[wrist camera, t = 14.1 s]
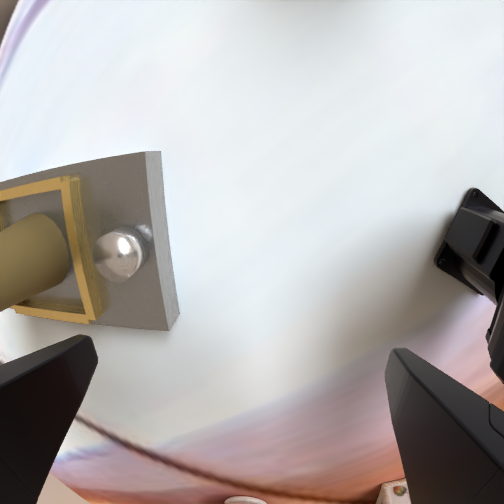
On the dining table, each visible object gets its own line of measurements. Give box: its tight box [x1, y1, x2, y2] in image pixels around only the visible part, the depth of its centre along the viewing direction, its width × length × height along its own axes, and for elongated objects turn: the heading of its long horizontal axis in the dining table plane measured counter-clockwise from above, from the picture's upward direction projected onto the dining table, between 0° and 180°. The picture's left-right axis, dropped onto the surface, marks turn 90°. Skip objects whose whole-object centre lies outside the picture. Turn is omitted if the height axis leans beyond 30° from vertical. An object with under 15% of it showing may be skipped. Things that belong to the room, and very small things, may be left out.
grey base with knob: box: [0, 151, 180, 331], centre depth 20 cm, size 16×12×4 cm
